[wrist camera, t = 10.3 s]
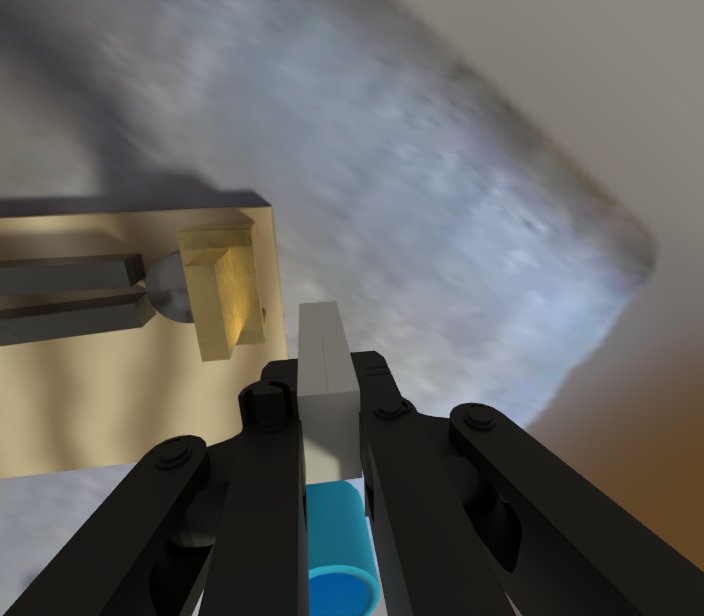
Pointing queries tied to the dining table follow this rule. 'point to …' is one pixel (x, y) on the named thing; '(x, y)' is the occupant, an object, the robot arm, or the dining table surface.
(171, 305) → the tong fixed
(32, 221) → the board
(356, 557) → the mug
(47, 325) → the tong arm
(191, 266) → the yellow stepped block
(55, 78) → the dining table surface
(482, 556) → the robot arm
